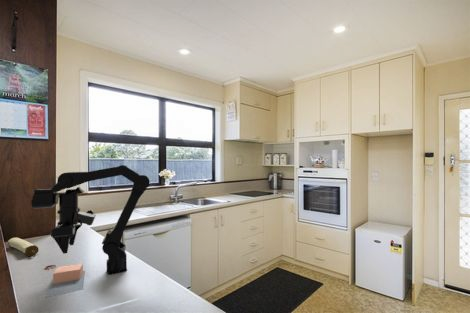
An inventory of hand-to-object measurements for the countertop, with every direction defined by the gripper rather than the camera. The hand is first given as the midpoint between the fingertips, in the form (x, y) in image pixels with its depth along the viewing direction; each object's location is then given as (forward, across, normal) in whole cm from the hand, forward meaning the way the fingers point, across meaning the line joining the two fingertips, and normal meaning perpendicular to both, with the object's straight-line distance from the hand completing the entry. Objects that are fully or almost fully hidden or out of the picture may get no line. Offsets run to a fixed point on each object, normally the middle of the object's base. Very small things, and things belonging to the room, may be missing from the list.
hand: (68, 249), depth 89 cm
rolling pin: (+12, +44, +29) cm, 54 cm away
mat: (+11, -4, 0) cm, 12 cm away
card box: (+10, 0, 0) cm, 11 cm away
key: (+12, +9, +8) cm, 17 cm away
